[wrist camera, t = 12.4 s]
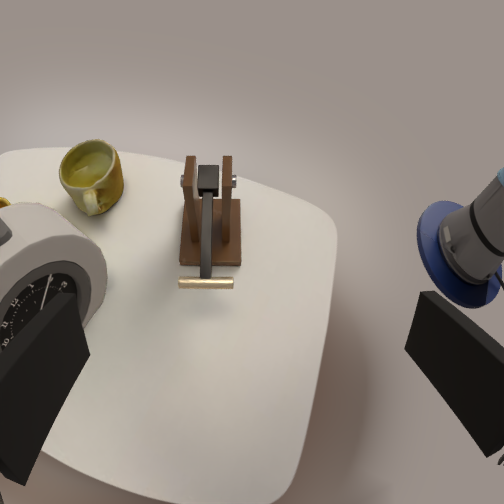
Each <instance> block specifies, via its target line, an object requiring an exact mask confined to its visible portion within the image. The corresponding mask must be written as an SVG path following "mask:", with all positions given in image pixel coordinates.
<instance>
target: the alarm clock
mask: <svg viewBox="0 0 504 504" xmlns="http://www.w3.org/2000/svg"><path fill="white" fill-rule="evenodd" d="M106 285H107V267H106V261H105V259H104V256H103V254H102V252H101V249H100V248H99V247H98V246H97V245H96V244H95V243H94V242H93V241H92V240H90V239H89V238H88V237H87V236H86V235H84V234H83V233H82V232H81V231H80V230H78V229H77V228H76V227H75V226H73V225H72V224H71V223H70V222H69V221H67V220H66V219H65V218H64V217H63V216H61V215H60V214H59V213H58V212H57V211H56V210H54V209H52V208H50V207H47V206H45V205H42V204H40V203H16V204H13V205H9V206H6V207H3V208H0V353H1V352H2V351H3V350H4V349H5V347H6V346H7V345H8V344H9V343H10V342H11V341H12V340H13V339H14V338H15V336H16V335H17V334H18V333H19V332H20V331H21V330H22V329H23V328H24V327H25V326H26V325H27V324H28V323H29V322H30V321H31V320H32V319H33V318H34V317H35V315H36V314H37V313H38V312H39V311H40V310H41V309H42V308H43V307H44V306H45V305H46V304H47V303H48V302H49V301H50V300H52V299H53V298H54V297H55V296H56V295H57V294H58V293H74V294H75V295H76V300H77V305H78V309H79V314H80V318H81V322H82V326H83V328H84V327H85V326H86V324H87V323H88V322H89V320H90V319H91V317H92V316H93V315H94V313H95V312H96V311H97V309H98V308H99V307H100V305H101V304H102V302H103V299H104V296H105V292H106Z"/></svg>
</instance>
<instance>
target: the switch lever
mask: <svg viewBox="0 0 504 504" xmlns="http://www.w3.org/2000/svg"><path fill="white" fill-rule="evenodd" d="M197 190H198V195H199V197H202V221H201V256H200V277H179V278H178V287H179V288H184V289H233V277H212V221H213V197H218V195H219V165H199V166H198V182H197Z"/></svg>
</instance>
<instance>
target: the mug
mask: <svg viewBox="0 0 504 504" xmlns="http://www.w3.org/2000/svg"><path fill="white" fill-rule="evenodd" d="M59 178H60V182H61V184H62V186H63V187H64V189H65V190H66V191H67V193H68V194H69V195H70V196H71V197H72V199H73V200H74V202H75V204H76V206H77V207H78V208H79V209H80V210H82V211H83V212H86V213H87V214H88V216H91V215H94V214H101V213H104V212H105V211H107V210H108V209H109V208H110V207H111V206H112V205H113V204H114V203H116V202H117V201H118V200H119V198H120V197H121V195H122V192H123V186H124V183H123V176H122V170H121V164H120V159H119V156H118V154H117V152H116V150H115V149H114V148H113V146H111V145H110V144H108V143H106V142H105V141H103V140H100V139H95V140H88V141H85V142H82V143H79V144H78V145H76V146H75V147H73V148H72V149H71V150H70V151H69V152H68V153H67V154H66V155H65V157H64V158H63V160H62V162H61V165H60V169H59Z"/></svg>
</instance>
